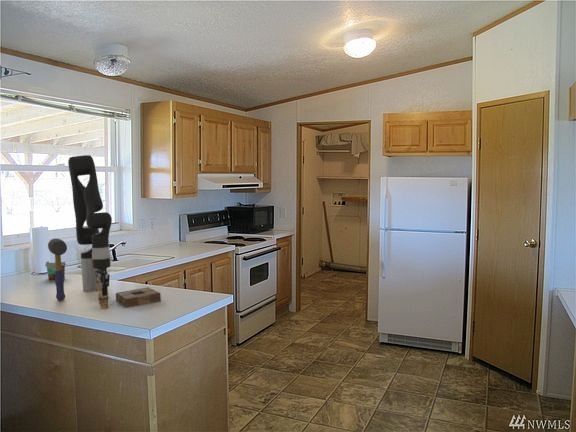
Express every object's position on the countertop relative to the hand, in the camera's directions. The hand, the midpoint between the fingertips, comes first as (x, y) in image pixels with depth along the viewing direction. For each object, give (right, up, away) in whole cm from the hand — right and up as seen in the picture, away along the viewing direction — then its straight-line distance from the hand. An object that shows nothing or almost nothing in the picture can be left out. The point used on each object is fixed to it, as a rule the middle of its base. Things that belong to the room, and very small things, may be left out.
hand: (103, 294), depth 212 cm
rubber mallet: (-27, -6, +15) cm, 31 cm away
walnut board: (+12, -5, +11) cm, 17 cm away
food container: (-53, -2, +63) cm, 82 cm away
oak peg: (0, -6, +1) cm, 6 cm away
